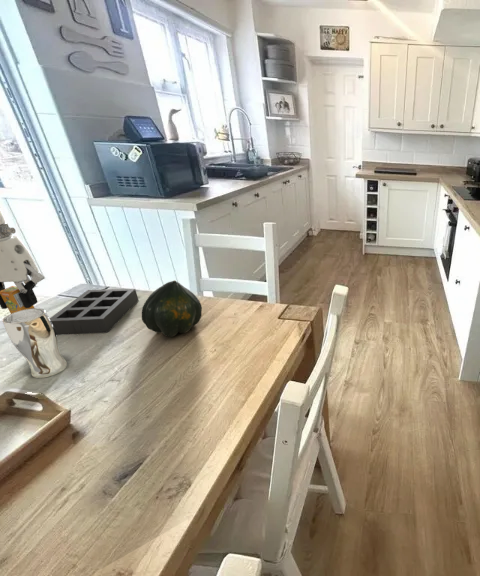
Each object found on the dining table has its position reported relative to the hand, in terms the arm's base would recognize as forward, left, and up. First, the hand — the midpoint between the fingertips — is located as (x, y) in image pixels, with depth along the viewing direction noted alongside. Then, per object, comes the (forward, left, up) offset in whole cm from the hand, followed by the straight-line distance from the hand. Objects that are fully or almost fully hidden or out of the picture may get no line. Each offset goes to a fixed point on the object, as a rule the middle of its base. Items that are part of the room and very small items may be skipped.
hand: (20, 305), depth 78 cm
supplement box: (0, 0, -6) cm, 6 cm away
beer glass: (+8, -10, -13) cm, 18 cm away
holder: (+6, +15, -12) cm, 20 cm away
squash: (+30, +6, -13) cm, 33 cm away
